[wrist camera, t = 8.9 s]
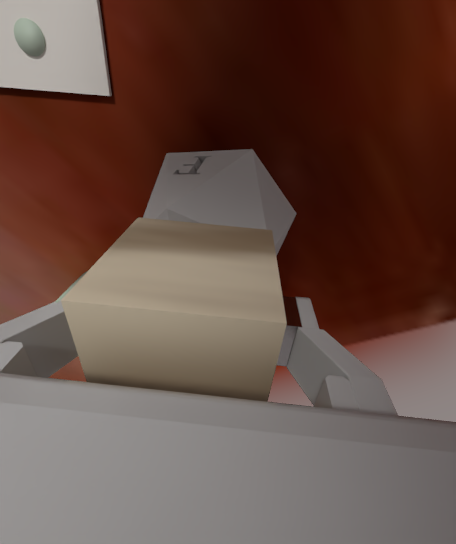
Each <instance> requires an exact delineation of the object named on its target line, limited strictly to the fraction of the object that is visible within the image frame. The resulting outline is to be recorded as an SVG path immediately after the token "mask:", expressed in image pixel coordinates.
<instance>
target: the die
mask: <svg viewBox="0 0 456 544" xmlns="http://www.w3.org/2000/svg"><path fill="white" fill-rule="evenodd" d="M296 214H297V213H296V212H295V211H294V209H293V208H292V206H291V205H290V203H289V202H288V200H287V199H286V197H285V196H284V194H283V193H282V192H281V190H280V189H279V187H278V186H277V184H276V183H275V181H274V180H273V178H272V177H271V175H270V174H269V172H268V171H267V170H266V168H265V167H264V165H263V164H262V162H261V161H260V159H259V158H258V156H257V155H256V153H255V152H254V150H253V149H243V150H223V151H202V152H181V153H166V156H165V159H164V161H163V164H162V167H161V170H160V172H159V175H158V178H157V181H156V183H155V186H154V189H153V191H152V194H151V197H150V200H149V202H148V205H147V208H146V211H145V213H144V216H143V218H149V219H160V220H171V221H181V222H192V223H202V224H213V225H224V226H234V227H245V228H255V229H266V230H272V233H273V239H274V245H275V252H276V256H277V254H278V252H279V250H280V248H281V245H282V243H283V241H284V239H285V237H286V235H287V233H288V231H289V229H290V226H291V224H292V222H293V220H294V218H295V216H296Z"/></svg>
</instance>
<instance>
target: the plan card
mask: <svg viewBox="0 0 456 544" xmlns="http://www.w3.org/2000/svg"><path fill="white" fill-rule="evenodd" d="M0 87H6V88H18V89H30V90H42V91H54V92H66V93H78V94H90V95H102V96H112V93H111V85H110V78H109V70H108V63H107V55H106V47H105V40H104V32H103V25H102V17H101V9H100V2H99V0H0Z"/></svg>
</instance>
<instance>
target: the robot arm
mask: <svg viewBox="0 0 456 544" xmlns="http://www.w3.org/2000/svg"><path fill="white" fill-rule="evenodd" d="M75 285H76V284H75ZM75 285H74V286H75ZM61 300H62V299H61ZM61 300H60V301H59V302H58V303H55V302H53V303H51V304H49V305H46V306H44V307H41V308H39V309H37V310H34V311H32V312H30V313H27V314H25V315H22V316H20V317H18V318H15V319H13V320H10V321H8V322H6V323H3V324H1V325H0V544H456V422H450V421H440V420H432V419H422V418H413V417H404V416H398V415H397V412H396V410H395V408H394V406H393V404H392V401H391V399H390V397H389V395H388V392H387V390H386V388H385V386H384V384H383V382H382V380H381V379H380V378H379V377H378V376H377V375H376V374H374V373H373V372H372V371H371V370H370V369H369V368H367V367H366V366H365V365H364V364H363V363H361V362H360V361H359V360H358V359H357V358H356V357H354V355H352V354H351V353H350V352H349V351H348V350H347V349H345V348H344V347H343V346H342V345H341V344H340V343H338V342H337V341H336V340H335V339H334V338H333V337H331V336H330V335H329V334H328V333H327V332H326V331H324V330H321V329H319V326H318V323H317V320H316V316H315V313H314V310H313V306H312V303H311V300H310V299H309V298H304V297H286V296H283V302H284V308H285V315H286V321H287V325H286V329H285V333H284V337H283V341H282V345H281V349H280V353H279V357H278V361H277V365H280V366H287V369H288V370H289V371H290V373H291V374H292V376H293V377H294V379H295V380H296V381H297V383H298V384H299V386H300V387H301V388H302V390H303V391H304V393H305V394H306V395H307V397H308V398H309V400H310V401H311V402H312V404H313V405H314V407H311V406H302V405H293V404H282V403H274V402H265V401H256V400H247V399H238V398H228V397H219V396H210V395H201V394H192V393H183V392H173V391H164V390H155V389H145V388H136V387H127V386H118V385H108V384H99V383H90V382H81V381H71V380H62V379H53V378H48V377H50V376H51V375H52V374H54V373H55V372H56V371H58V370H59V369H61V368H62V367H63V366H65V365H66V364H67V363H69V362H70V361H72V360H73V359H74V358H76V357H77V356H78V353H77V350H76V347H75V343H74V340H73V337H72V334H71V331H70V328H69V325H68V322H67V319H66V315H65V312H64V309H63V306H62V303H61Z"/></svg>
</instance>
